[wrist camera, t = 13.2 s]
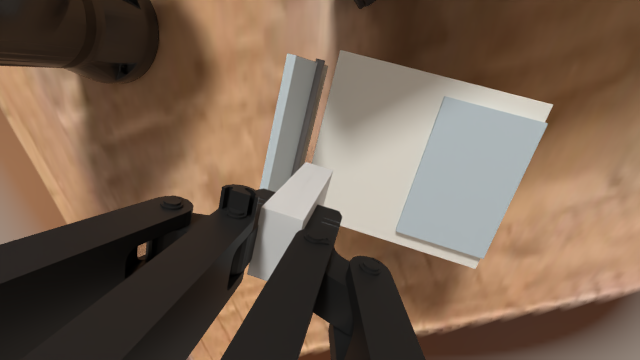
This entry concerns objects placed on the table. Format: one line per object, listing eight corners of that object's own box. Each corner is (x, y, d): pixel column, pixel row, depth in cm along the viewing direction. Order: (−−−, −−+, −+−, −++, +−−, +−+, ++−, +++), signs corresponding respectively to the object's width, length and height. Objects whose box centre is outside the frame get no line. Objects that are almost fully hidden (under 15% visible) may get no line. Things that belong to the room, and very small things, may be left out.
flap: (304, 180, 39) (295, 177, 40) (333, 64, 35) (323, 61, 35) (264, 236, 25) (250, 231, 25) (305, 52, 21) (288, 48, 21)
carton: (323, 177, 47) (297, 215, 33) (354, 60, 42) (338, 48, 28) (449, 215, 45) (477, 273, 31) (498, 98, 40) (557, 105, 26)
